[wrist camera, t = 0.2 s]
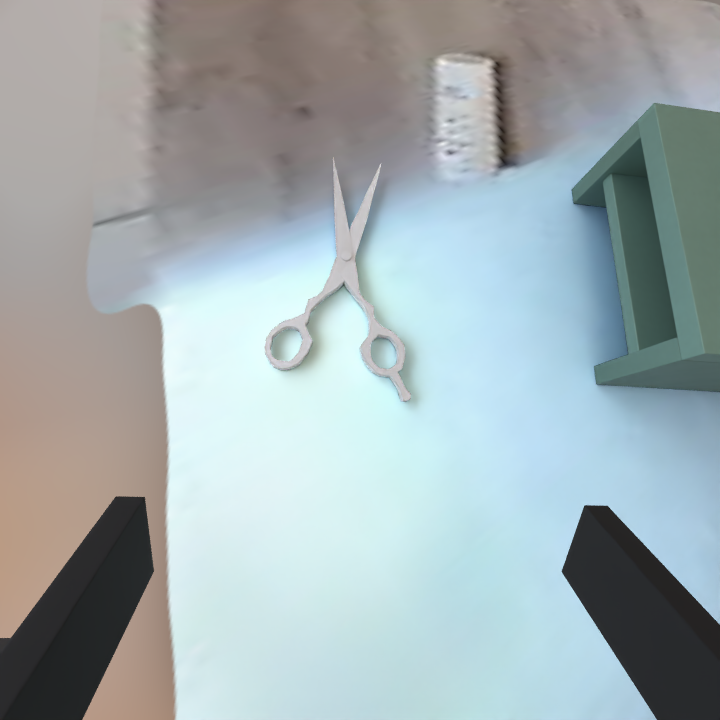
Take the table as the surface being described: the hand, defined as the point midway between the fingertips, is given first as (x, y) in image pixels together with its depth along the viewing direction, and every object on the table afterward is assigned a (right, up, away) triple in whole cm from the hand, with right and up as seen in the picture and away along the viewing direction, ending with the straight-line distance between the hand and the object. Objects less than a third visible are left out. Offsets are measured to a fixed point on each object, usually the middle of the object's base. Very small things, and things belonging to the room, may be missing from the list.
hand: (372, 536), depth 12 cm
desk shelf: (+24, +12, +22) cm, 35 cm away
